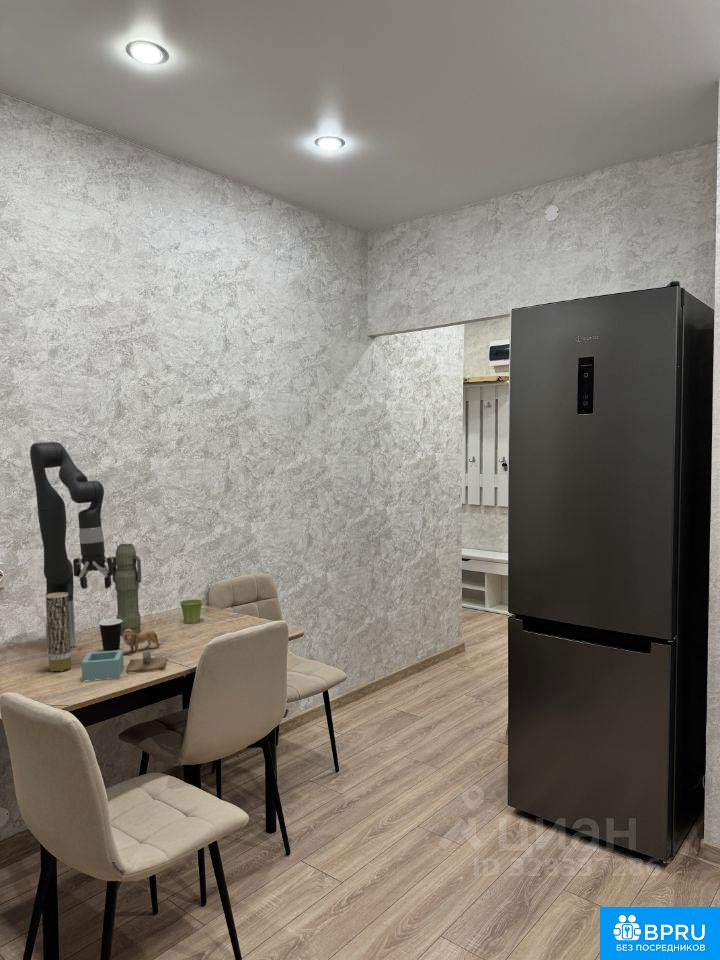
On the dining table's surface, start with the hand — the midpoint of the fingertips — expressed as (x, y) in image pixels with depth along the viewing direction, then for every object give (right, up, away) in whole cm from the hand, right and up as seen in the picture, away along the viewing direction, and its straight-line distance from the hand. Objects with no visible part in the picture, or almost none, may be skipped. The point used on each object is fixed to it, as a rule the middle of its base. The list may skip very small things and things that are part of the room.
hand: (96, 588), depth 237 cm
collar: (+7, -26, -12) cm, 29 cm away
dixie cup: (0, -25, +13) cm, 29 cm away
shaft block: (+18, -25, -4) cm, 32 cm away
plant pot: (+19, -23, +54) cm, 62 cm away
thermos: (-2, -24, +39) cm, 46 cm away
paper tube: (-10, -26, -5) cm, 29 cm away
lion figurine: (+11, -25, +14) cm, 31 cm away
